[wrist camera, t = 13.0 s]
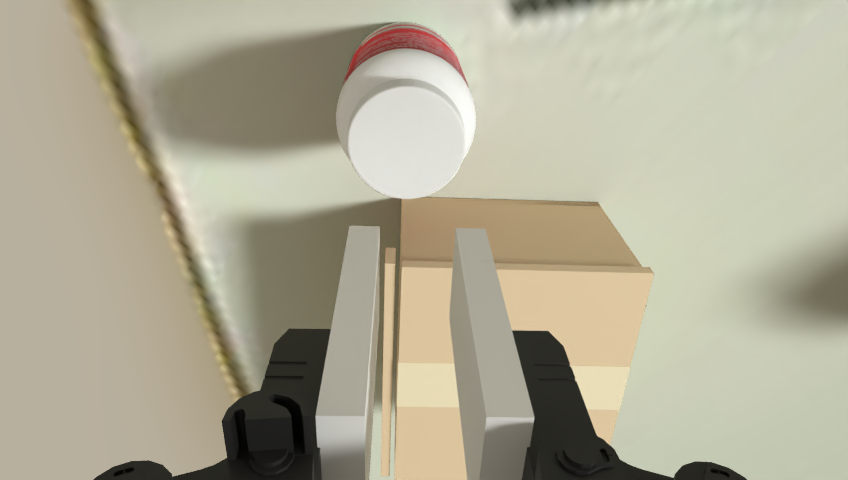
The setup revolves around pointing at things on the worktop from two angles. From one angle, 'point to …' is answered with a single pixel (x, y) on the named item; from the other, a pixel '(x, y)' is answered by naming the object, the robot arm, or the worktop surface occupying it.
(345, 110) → the pill bottle
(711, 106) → the worktop surface
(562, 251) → the carton
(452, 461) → the lid
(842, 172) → the worktop surface
